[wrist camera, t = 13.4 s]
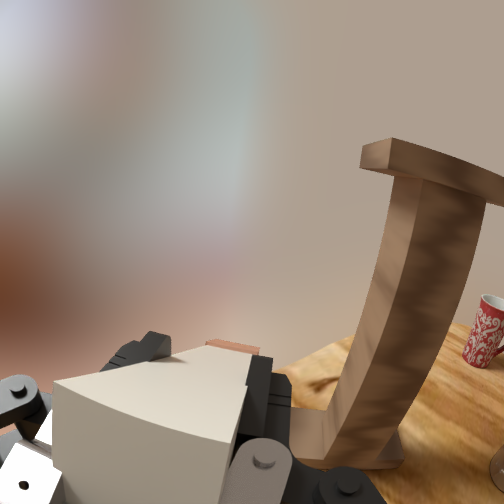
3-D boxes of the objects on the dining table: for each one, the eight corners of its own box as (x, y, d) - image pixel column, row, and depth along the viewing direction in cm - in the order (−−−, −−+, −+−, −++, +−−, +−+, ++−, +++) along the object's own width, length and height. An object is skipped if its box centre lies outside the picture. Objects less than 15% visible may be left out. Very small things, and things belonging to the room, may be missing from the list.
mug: (456, 362, 47) (483, 302, 43) (459, 344, 53) (480, 290, 50) (503, 380, 39) (532, 321, 35) (501, 360, 46) (525, 307, 42)
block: (251, 389, 20) (259, 347, 21) (209, 567, 3) (240, 432, 4) (208, 380, 20) (216, 339, 21) (52, 505, 3) (49, 368, 4)
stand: (386, 423, 33) (474, 180, 23) (398, 474, 24) (529, 189, 15) (286, 416, 34) (349, 144, 25) (282, 472, 25) (376, 133, 16)
